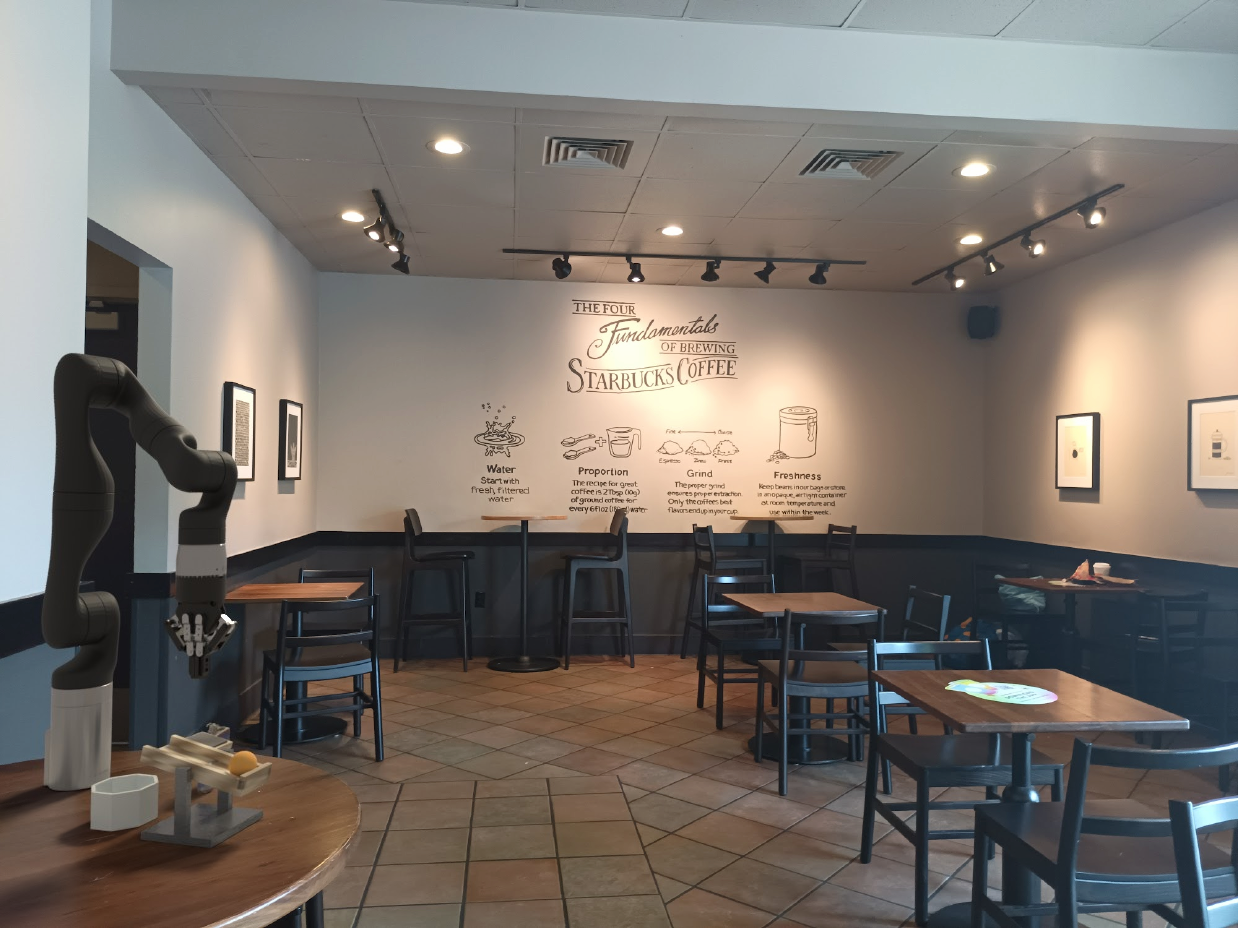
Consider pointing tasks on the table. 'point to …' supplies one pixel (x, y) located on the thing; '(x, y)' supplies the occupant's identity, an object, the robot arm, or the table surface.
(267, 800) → the table surface
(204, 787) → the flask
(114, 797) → the cup
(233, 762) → the ball
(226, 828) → the lever stand
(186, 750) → the lever
